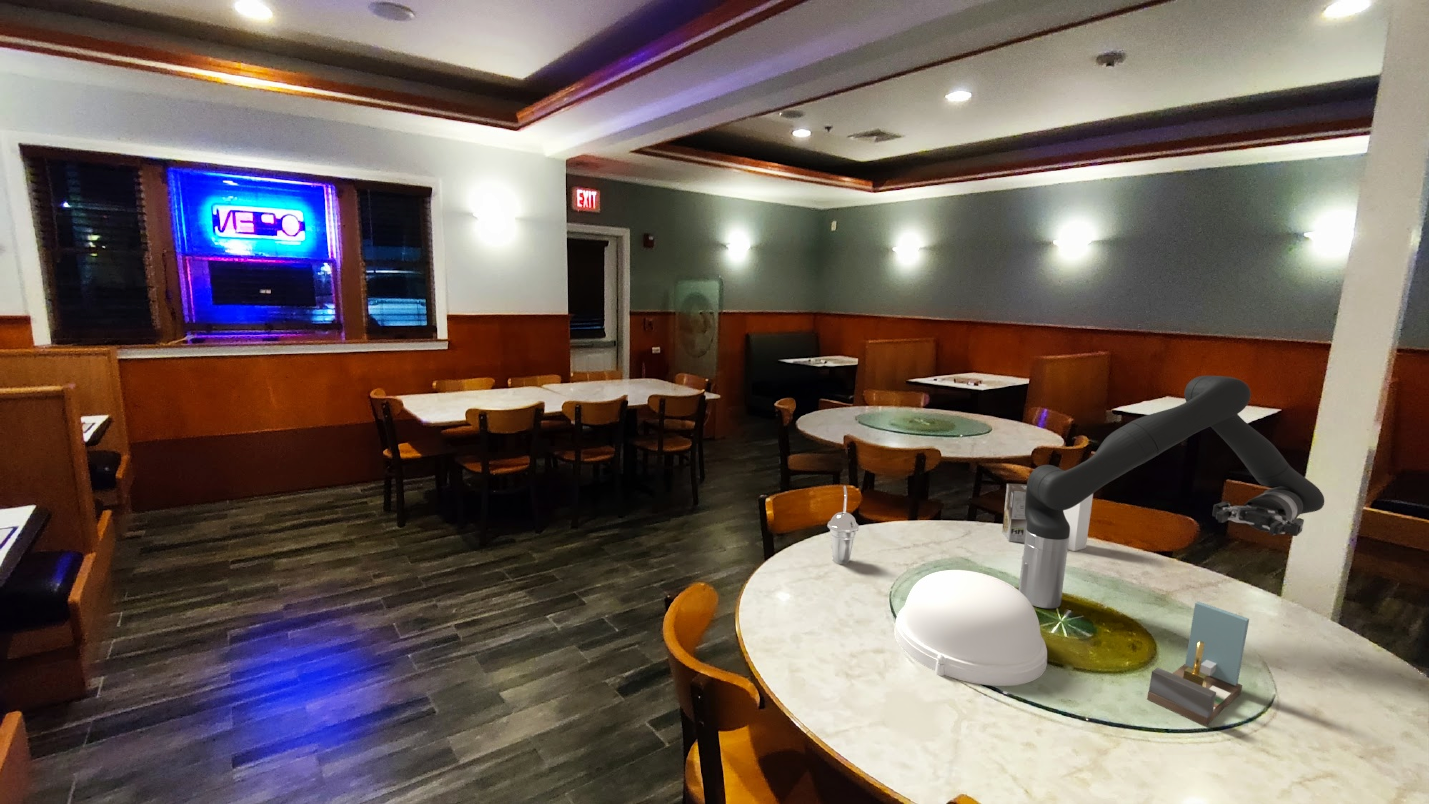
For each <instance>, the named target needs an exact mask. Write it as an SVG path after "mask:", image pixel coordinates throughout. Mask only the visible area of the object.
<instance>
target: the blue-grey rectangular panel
mask: <svg viewBox="0 0 1429 804" xmlns="http://www.w3.org/2000/svg"><path fill="white" fill-rule="evenodd" d="M1193 608H1194V609H1193V615H1192V619H1191V627H1190V632H1189V633H1190V634H1189V637H1188V640H1189V641H1188V646H1187V652H1186V657H1185V663H1184V664H1185V665H1186V666H1188V667H1191V668H1193V667H1194V661H1195V655H1196V649H1197V642H1198V641H1202V642H1204V649H1203V655H1202V661H1201V667H1200V672H1202V673H1204V674H1207V675H1208V676H1213V677H1215V678H1218V679H1220V680H1223V681H1225V682H1227V683H1230V684H1232V685H1236V684H1237V683H1238V684H1239V678H1240V673H1241V668H1242V661H1243V656H1244V651H1245V645H1246V644H1245V643H1246V638H1247V633H1248V628H1249V621H1250V618H1249V617H1245V616H1243V615H1240V614H1237V613H1234V612H1231V611H1229V610H1228V611H1227V610H1224V609H1222V608H1219V607H1216V606H1212V605H1209V604H1206V603H1205V602H1201V601H1197V602H1195V603H1194V607H1193Z"/></svg>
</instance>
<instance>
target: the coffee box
mask: <svg viewBox="0 0 1429 804" xmlns="http://www.w3.org/2000/svg"><path fill="white" fill-rule="evenodd" d="M1026 487H1027V484H1022V483H1006V490H1005V491H1006V492H1005V502H1004V511H1003V520H1002V531H1001V532H1002V533H1003V535H1004V536H1005V538H1006V539H1007V540H1008V542H1013V543H1014V542H1015V543H1022V544H1025V536H1026V527H1027V522H1026V518H1025V499H1026Z"/></svg>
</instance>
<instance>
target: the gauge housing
mask: <svg viewBox="0 0 1429 804" xmlns="http://www.w3.org/2000/svg"><path fill="white" fill-rule="evenodd" d="M1187 668H1188V666H1186V665H1185V663H1184V664H1182V665H1181V666H1180V667H1179V668H1177V669H1176V670H1175V671H1174V672H1172V673H1171V672H1169V671H1168V670H1165V669H1163V668H1160V667H1159V666H1158V667H1156V668H1154V669H1153V670H1152V671H1151V675H1150V682H1149V688H1148V692H1147V698H1146V700H1148V701H1150V702H1152V703H1154V704H1156V705H1158V706H1160V707H1162V708H1165V709H1167V710H1169V711H1171V712H1173V713H1176V714H1178V715H1180V716H1182V717H1184V718H1186V719H1188V720H1191V721H1192V722H1195V723H1197V724H1199V725H1201V726H1204V727H1207V725H1209V723H1211V722H1212V721H1213V720H1214V719H1215V718H1216V717H1217V716H1218V715H1219V714H1220V713H1221V712H1222V711H1224V709H1225V708H1227V707H1228V705H1230V704H1231V703H1232V702H1233V701H1234V700H1235V699H1236V698H1237V697H1238V696H1239V695H1240V694H1241V693H1242V690H1243V685H1242V684H1240V683H1239V682H1238V683H1237V684H1236V685H1232V684H1230V683H1227V682H1225V681H1223V680H1220V679H1218V678H1215V677H1213V676H1208V677H1207V683H1206V687H1203V686H1200V685H1198V684H1196V683H1193V682H1191V681H1189V680H1186V679H1184V678H1183V676H1184V670H1185V669H1187ZM1190 668H1191V667H1190ZM1192 669H1193V668H1192ZM1231 701H1232V702H1231Z"/></svg>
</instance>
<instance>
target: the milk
mask: <svg viewBox="0 0 1429 804" xmlns="http://www.w3.org/2000/svg"><path fill="white" fill-rule="evenodd" d="M1093 497H1094V493H1093V494H1091V495H1090V496H1089V497H1087V498H1086V499H1084V500H1083V501H1082V502H1080V503H1079V504H1077V505H1076V506H1074V507H1072V508H1070V509H1067V510H1063V512H1064V515H1065V518H1066V520H1067V522H1068V523H1069V525H1070V535H1069V543H1068V550H1069V551H1072V552H1077V551H1082V550H1084V549H1086V548H1087V542H1088V534H1089V527H1090V520H1091V515H1092V514H1091V513H1092V505H1093V499H1094V498H1093Z"/></svg>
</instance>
